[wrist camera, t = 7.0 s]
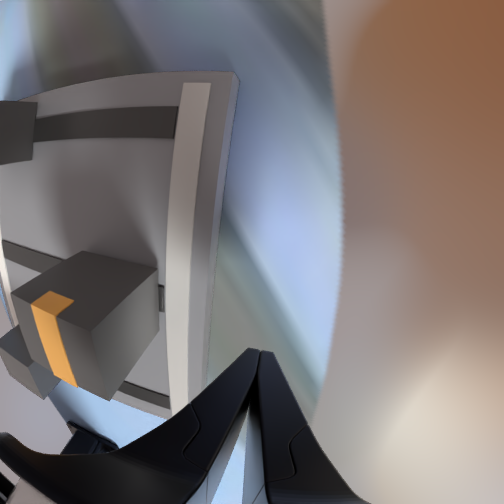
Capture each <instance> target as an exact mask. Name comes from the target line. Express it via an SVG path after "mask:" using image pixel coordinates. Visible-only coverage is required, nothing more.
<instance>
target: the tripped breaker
mask: <svg viewBox="0 0 504 504" xmlns="http://www.w3.org/2000/svg"><path fill="white" fill-rule="evenodd" d="M10 295H11V299H12V302H13V306H14V310H15V313H16V316H17V320H18V323H19V326H20V329H21V332H22V335H23V338H24V340H25V343H26V346H27V348H28V351H29V354H30V356H31V359H32V360H34V361H35V362H37V363H39V364H40V365H42V366H43V367H45V368H47V369H48V370H50V371H52V372H53V373H54V375H55V376H57V377H59V378H60V379H62V380H64V381H66V382H67V383H69V384H71V385H73V386H75V387H77V388H78V386H79V387H81V388H83V389H84V390H86V391H89V392H91V393H93V394H95V395H97V396H99V397H101V398H103V399H105V400H108V401H110V400H111V399H112V397H113V396H114V394H115V393H116V391H117V390H118V388H119V387H120V386H121V384H122V383H123V381H124V380H125V378H126V377H127V375H128V374H129V373H130V371H131V370H132V368H133V367H134V366H135V364H136V363H137V361H138V360H139V358H140V357H141V356H142V354H143V353H144V351H145V350H146V349H147V347H148V346H149V344H150V343H151V342H152V340H153V339H154V337H155V336H156V335H157V333H158V332H159V331H160V327H159V294H158V268H154V267H150V266H145V265H141V264H137V263H132V262H128V261H124V260H119V259H115V258H111V257H107V256H103V255H99V254H95V253H91V252H87V251H83V250H82V251H80V252H79V253H77V254H75V255H73V256H71V257H69V258H68V259H66V260H64V261H62V262H61V263H59V264H57V265H55V266H54V267H52V268H50V269H48V270H47V271H45V272H43V273H42V274H40V275H38V276H36V277H35V278H33V279H32V280H30V281H28V282H27V283H25V284H23V285H22V286H20V287H19V288H17V289H15V290H14V291H12V292H11V293H10Z"/></svg>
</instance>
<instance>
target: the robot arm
mask: <svg viewBox="0 0 504 504" xmlns="http://www.w3.org/2000/svg"><path fill="white" fill-rule="evenodd" d="M249 403H250V404H249ZM248 408H249V410H248ZM247 411H248V421H247V437H246V452H245V468H244V483H243V498H242V504H371V503H369V502H366V501H365V500H363V499H362V498H360V497H359V496H358V495H356V494H355V493H354V492H353V491H352V490H351V488H350V487H349V486H348V484H347V483H346V482H345V481H344V479H343V478H342V477H341V475H340V474H339V473H338V471H337V470H336V468H335V467H334V466H333V464H332V463H331V461H330V460H329V459H328V457H327V456H326V454H325V453H324V451H323V450H322V448H321V447H320V445H319V443H318V442H317V440H316V438H315V436H314V434H313V432H312V430H311V428H310V426H309V425H308V422H307V420H306V418H305V416H304V414H303V412H302V410H301V408H300V406H299V404H298V402H297V400H296V398H295V396H294V394H293V392H292V390H291V388H290V386H289V384H288V382H287V380H286V378H285V376H284V374H283V372H282V369H281V367H280V365H279V363H278V361H277V359H276V357H275V355H274V353H273V352H270V351H264V350H262V351H261V352H260V350H258V349H253V348H247V349H246V350H245V351H244V352H243V353H242V354H241V355H240V356H239V357H238V358H237V359H236V360H235V361H234V362H233V363H232V364H231V365H230V366H229V367H228V368H227V369H225V370H224V371H223V372H222V373H221V374H220V375H219V376H218V377H217V378H216V379H215V380H214V381H213V382H212V383H210V384H209V385H208V386H207V387H206V388H205V389H204V390H203V391H202V392H201V393H200V394H198V395H197V396H196V397H195V398H194V399H193V400H192V401H191V402H190V403H188V404H187V405H186V406H185V407H184V408H182V409H181V410H180V411H179V412H178V413H176V414H175V415H174V416H173V417H171V418H170V419H169V420H167V421H166V422H164V423H163V424H161V425H160V426H158V427H157V428H155V429H153V430H152V431H150V432H148V433H147V434H145V435H143V436H142V437H140V438H138V439H136V440H135V441H133V442H131V443H129V444H128V445H126V446H124V447H122V448H120V449H118V447H117V446H115V445H114V444H112V443H110V442H107V441H105V440H103V439H101V438H99V437H97V436H95V435H93V434H91V433H89V432H88V431H86V430H84V429H82V428H80V427H78V426H77V425H75V424H73V423H71V422H70V421H68V422H67V426H68V428H69V429H70V431H71V433H72V434H73V436H72V437H71V439H70V440H69V441H68V443H67V444H66V446H65V447H64V449H63V450H62V452H61V453H60V455H55V454H43V453H39V452H36V451H33V450H31V449H29V448H27V447H26V446H24V445H23V444H22V443H20V442H19V441H18V440H17V439H16V438H15V437H13V436H12V435H10V434H9V433H6V432H3V433H0V459H1V460H2V461H3V462H4V463H5V464H6V465H7V466H8V467H9V468H10V469H11V470H12V471H13V472H14V473H15V474H17V475H18V476H19V477H20V479H19V481H18V483H17V484H16V486H15V485H14V484H13V483H12V482H11V481H10V480H9V479H7V478H6V477H5V476H4V475H3V474H2V473H1V472H0V504H211V502H212V500H213V497H214V495H215V493H216V490H217V488H218V486H219V483H220V481H221V478H222V476H223V474H224V471H225V469H226V466H227V464H228V461H229V459H230V456H231V454H232V451H233V449H234V446H235V444H236V441H237V438H238V436H239V433H240V431H241V428H242V425H243V423H244V420H245V417H246V414H247Z"/></svg>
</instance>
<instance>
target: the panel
mask: <svg viewBox="0 0 504 504" xmlns="http://www.w3.org/2000/svg"><path fill="white" fill-rule="evenodd" d="M239 83H240V80H239V79H238V77H237V76H236V74H235V73H234V72H228V71H172V72H155V73H143V74H134V75H125V76H118V77H111V78H105V79H99V80H93V81H88V82H83V83H78V84H74V85H69V86H65V87H61V88H57V89H53V90H50V91H46V92H43V93H39V94H36V95H33V96H30V97H27V98H24V99H21V100H18V101H0V284H1V288H2V292H3V296H4V300H5V303H6V307H7V310H8V314H9V317H10V320H11V323H12V326H13V329H12V330H10V331H9V332H8V333H7V334H5V335H4V336H3V337H2V338H0V356H1V358H2V360H3V362H4V364H5V366H6V368H7V370H8V372H9V374H10V375H11V376H12V377H13V378H14V379H16V380H17V381H18V382H19V383H21V384H22V385H23V386H25V387H26V388H27V389H29V390H30V391H32V392H33V393H35V394H36V395H37V396H39V397H40V398H42V399H43V400H44V399H45V398H46V397H47V396H48V394H49V393H50V392H51V391H52V390H53V389H54V387H55V386H56V385H57V384H58V383H59V382H60V381H61V380H62V379H60V378H59V377H57V376H55V375H54V373H53V372H52V371H50V370H48V369H47V368H45V367H43V366H42V365H40V364H39V363H37V362H35V361H34V360H32V359H31V356H30V354H29V351H28V348H27V346H26V343H25V340H24V338H23V335H22V332H21V329H20V326H19V323H18V320H17V316H16V313H15V310H14V306H13V302H12V299H11V295H10V293H11V292H12V291H14V290H15V289H17V288H19V287H20V286H22V285H23V284H25V283H27V282H28V281H30V280H32V279H33V278H35V277H36V276H38V275H40V274H42V273H43V272H45V271H47V270H48V269H50V268H52V267H54V266H55V265H57V264H59V263H61V262H62V261H64V260H66V259H68V258H69V257H71V256H73V255H75V254H77V253H79V252H80V251H82V250H83V251H87V252H91V253H95V254H99V255H103V256H107V257H111V258H115V259H119V260H124V261H128V262H132V263H137V264H141V265H145V266H150V267H154V268H158V294H159V327H160V331H159V332H158V333H157V335H156V336H155V337H154V339H153V340H152V342H151V343H150V344H149V346H148V347H147V349H146V350H145V351H144V353H143V354H142V356H141V357H140V358H139V360H138V361H137V363H136V364H135V366H134V367H133V368H132V370H131V371H130V373H129V374H128V375H127V377H126V378H125V380H124V381H123V383H122V384H121V386H120V387H119V388H118V390H117V391H116V393H115V394H114V396H113V397H112V399H114V400H116V401H119V402H121V403H124V404H126V405H129V406H131V407H134V408H136V409H139V410H141V411H144V412H147V413H150V414H153V415H155V416H158V417H161V418H164V419H167V420H169V419H170V418H171V417H173V416H174V415H175V414H176V413H178V412H179V411H180V410H181V409H182V408H184V407H185V406H186V405H187V404H188V403H190V402H191V401H192V400H193V399H194V398H195V397H196V396H197V395H198V394H200V393H201V392H202V391H203V390H204V389H205V388H206V384H207V367H208V352H209V338H210V324H211V312H212V300H213V289H214V278H215V268H216V258H217V248H218V238H219V229H220V220H221V212H222V203H223V195H224V187H225V179H226V171H227V164H228V156H229V149H230V142H231V135H232V128H233V121H234V114H235V108H236V101H237V95H238V89H239Z"/></svg>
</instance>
